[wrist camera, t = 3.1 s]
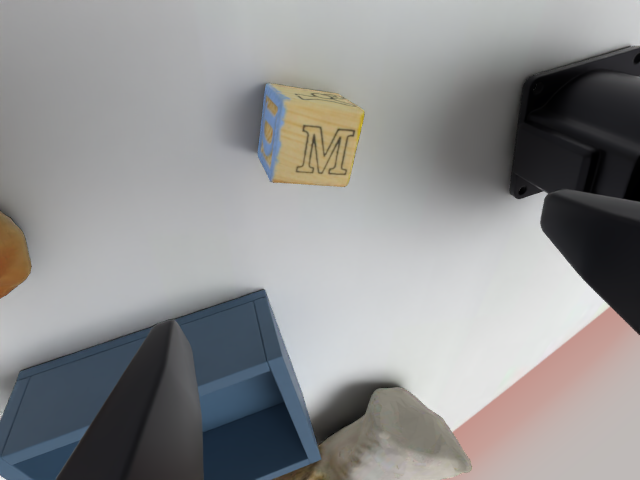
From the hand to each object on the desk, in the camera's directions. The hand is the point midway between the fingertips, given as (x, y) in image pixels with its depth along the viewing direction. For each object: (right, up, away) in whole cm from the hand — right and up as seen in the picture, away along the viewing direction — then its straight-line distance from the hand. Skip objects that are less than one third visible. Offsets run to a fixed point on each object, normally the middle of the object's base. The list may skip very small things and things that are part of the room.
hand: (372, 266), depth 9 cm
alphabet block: (-2, +6, +8) cm, 10 cm away
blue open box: (-9, -8, +14) cm, 18 cm away
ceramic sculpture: (+1, -14, +22) cm, 26 cm away
